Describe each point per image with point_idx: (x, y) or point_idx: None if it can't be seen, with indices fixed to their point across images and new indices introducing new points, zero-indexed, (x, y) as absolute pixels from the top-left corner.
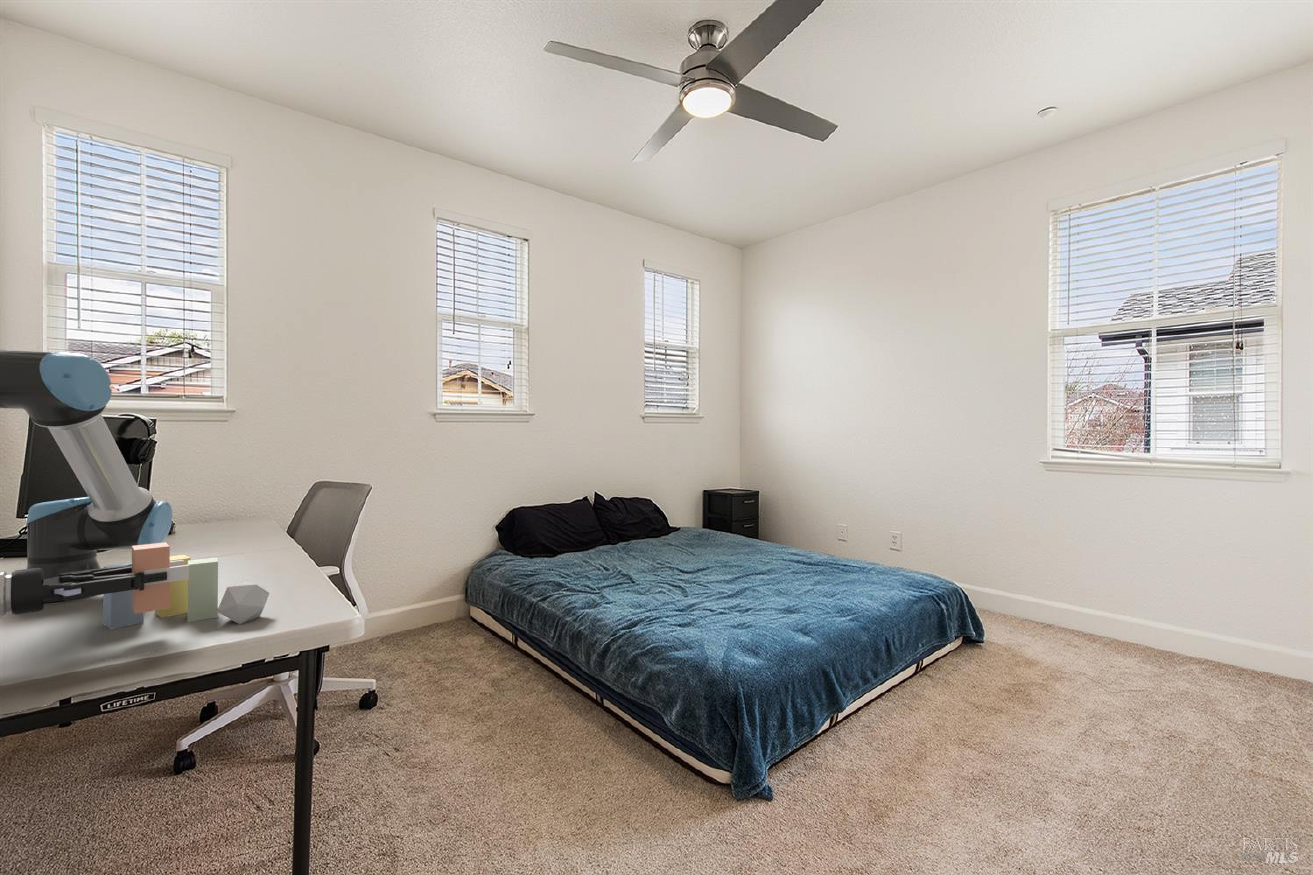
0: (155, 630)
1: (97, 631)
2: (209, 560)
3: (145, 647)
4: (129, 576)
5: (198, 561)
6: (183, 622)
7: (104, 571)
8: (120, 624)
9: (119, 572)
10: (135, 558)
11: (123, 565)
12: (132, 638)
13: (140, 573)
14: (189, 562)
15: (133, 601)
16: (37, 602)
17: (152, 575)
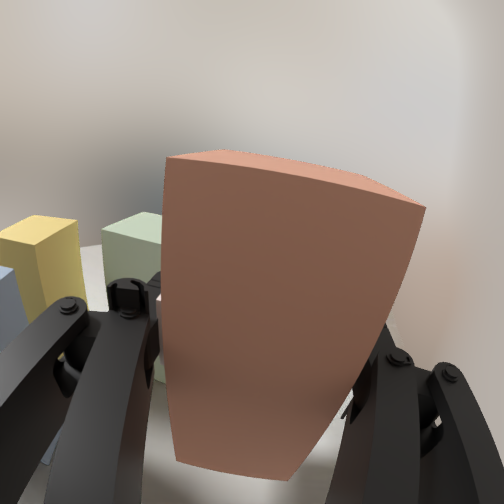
0: (172, 443)
1: (36, 484)
2: (161, 222)
3: (326, 495)
4: (458, 397)
5: (144, 228)
6: (164, 389)
7: (98, 467)
8: (51, 447)
9: (133, 401)
10: (402, 279)
11: (39, 319)
12: (200, 497)
13: (409, 358)
14: (131, 235)
15: (244, 460)
16: None
17: (392, 341)
